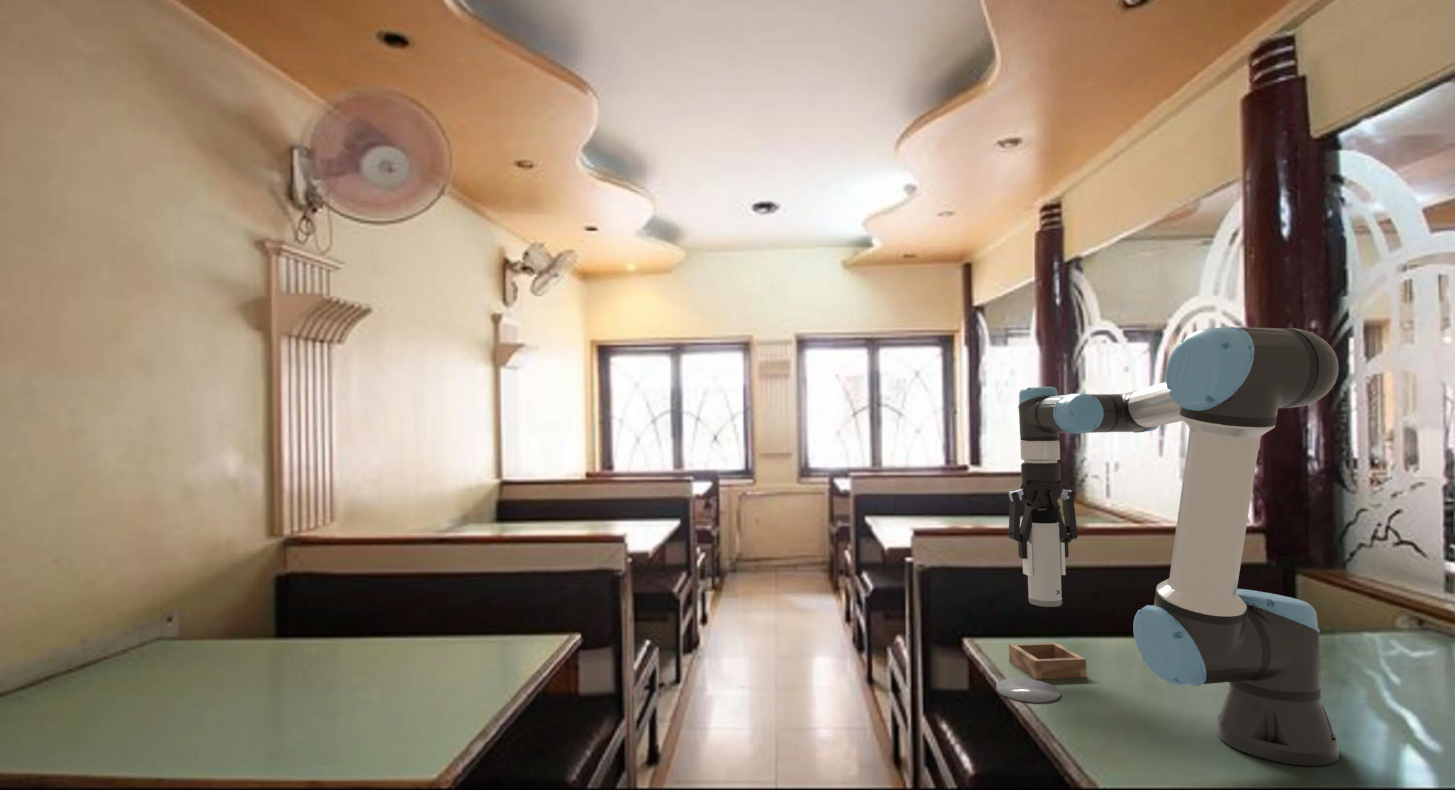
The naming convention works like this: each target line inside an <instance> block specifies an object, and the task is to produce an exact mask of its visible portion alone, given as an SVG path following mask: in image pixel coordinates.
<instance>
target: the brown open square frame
mask: <svg viewBox="0 0 1455 790" xmlns="http://www.w3.org/2000/svg"><path fill="white" fill-rule="evenodd" d="M1008 654H1009V655H1008V656H1009V658H1008V661H1009V662H1010V663H1012V665H1015V666H1016V667H1017V668H1019V669H1020V670H1021V671H1023V672H1025V673H1026V674H1027V675H1029V676H1030V677H1032V678H1033V679H1034V680H1051V679H1052V680H1053V679H1076V678H1077V679H1078V678H1079V679H1081V678H1088V677H1087V675H1088V673H1087V659H1086V657H1085V658H1084V657H1082V656H1081V655H1079V654H1077V653H1076V652H1073V651H1072V650H1070V649H1068V648H1067V647H1065V646H1063V645H1061V644H1060V643H1058V642H1035V643H1034V642H1033V643H1008Z"/></svg>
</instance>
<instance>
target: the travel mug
mask: <svg viewBox="0 0 1455 790" xmlns="http://www.w3.org/2000/svg"><path fill="white" fill-rule="evenodd" d="M1059 507H1060V505H1059ZM1060 508H1061V507H1060ZM1032 518H1033V519H1032V529H1031V532H1030V536H1029V540H1028V543H1031V544H1032V562H1033V576H1028V575H1027V588H1028V589H1027V590H1028V602H1029V604H1031V605H1034V606H1036V607H1037V606H1038V607H1044V608H1050V607H1051V608H1053V607H1059V606H1062V605H1063V596H1062V592H1063V591H1062V575H1061V565H1060V538H1059V526H1058V525H1059V519H1058V508H1055V509H1046V507H1045V506H1043V507H1039V508H1038V511H1032Z"/></svg>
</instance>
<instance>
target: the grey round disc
mask: <svg viewBox="0 0 1455 790" xmlns="http://www.w3.org/2000/svg"><path fill="white" fill-rule="evenodd" d="M995 687H996V691H997V693H999V694H1000V695H1001V696H1003V697H1006V698H1008V699H1010V700H1011V699H1012V700H1014V701H1018V702H1024V703H1036V704H1037V703H1039V704H1040V703H1041V704H1042V703H1051V702H1054V701H1057V700H1059V698H1060V694H1061V692H1060V690H1059V688H1057V687H1056V686H1054V685H1052V684H1050V683H1047V682H1044V681H1041V680H1038V679H1029V678H1006V679H1002V680H999V681H997V683H996V686H995Z"/></svg>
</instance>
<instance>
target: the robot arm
mask: <svg viewBox="0 0 1455 790" xmlns="http://www.w3.org/2000/svg"><path fill="white" fill-rule="evenodd" d="M1339 371H1340V369H1339V360H1338V357H1337V354H1336V351H1335V350H1334V349H1333V348H1332V346H1331V345H1330V344H1329V342H1327V341H1326V340H1325V339H1324V338H1322V337H1320V336H1318V335H1317V334H1315V333H1313V332H1311V331H1308V330H1304V329H1301V328H1296V327H1295V328H1291V327H1277V328H1276V327H1240V326H1239V327H1238V326H1237V327H1236V326H1220V327H1210V328H1209V327H1208V328H1203V329H1202V328H1201V329H1198V330H1196V331H1194V332H1192V333H1190V334H1189V335H1187V336H1186V337H1185V338H1184V339H1183V340H1181V341H1180V342H1178V344H1177V345H1176V346H1175V348H1174V349H1173V350H1172V352H1171V353H1170V356H1169V359H1168V362H1167V364H1166V369H1165V378H1164V379H1165V381H1164V382H1161V383H1158V384H1157V383H1156V384H1154V385H1151V386H1147V387H1143V388H1140V389H1137V390H1133V391H1130V392H1126V393H1116V394H1115V393H1114V394H1113V393H1111V394H1106V393H1105V394H1104V393H1103V394H1102V393H1101V394H1099V393H1098V394H1097V393H1094V394H1093V393H1091V394H1089V393H1082V392H1081V393H1080V392H1078V393H1074V392H1073V393H1069V394H1060V395H1059V394H1058V389H1057V388H1056V387H1054V386H1033V387H1032V386H1031V387H1023V388H1022V389H1020V391H1019V394H1018V399H1019V400H1018V405H1017V406H1018V407H1017V408H1018V418H1019V421H1018V422H1019V438H1020V439H1019V440H1020V441H1019V443H1020V444H1019V445H1020V459H1021V460H1022V461H1023V462H1022V463H1021V464H1020V473H1021V474H1020V475H1021V486H1020V488H1019V489H1017V490H1014V491H1013V490H1009V491H1008V492H1007V496H1008V501H1009V514H1008V516H1009V517H1008V538H1009V539H1011V540H1013V541H1016V542H1017V545H1018V549H1017V550H1018V557H1019V559H1022V574H1023V575H1026V576H1027V577H1028V576H1033V562H1032V544H1031V543H1028V540H1029V536H1030V532H1031V529H1032V519H1033V518H1032V511H1038V508H1039V507H1043V506H1045V507H1046V509H1055V508H1058V519H1059V525H1058V526H1059V538H1060V565H1061V576H1066V575H1067V573H1066V572H1067V571H1066V559H1067V558H1069V554H1070V553H1069V544H1070V543H1071V542H1072V540H1076V539H1077V538H1078V536H1079V535H1078V526H1077V520H1076V519H1077V517H1076V509H1075V501H1076V500H1075V499H1076V495H1077V493H1076V491H1075V490H1071V489H1065V488H1063V486H1062V485H1061V479H1062V477H1061V476H1062V475H1061V474H1062V473H1061V470H1062V469H1061V464H1060V463H1059V462H1058V461H1060V460H1061V447H1060V446H1061V445H1060V434H1073V435H1076V434H1089V433H1090V434H1091V433H1092V434H1093V433H1095V434H1096V433H1139V434H1140V433H1145V432H1153V431H1155V430H1157V429H1158V428H1159V426H1163V425H1168V424H1170V425H1171V424H1174V423H1179V422H1184V423H1185V425H1187V427H1188V428H1189V431H1188V439H1187V447H1186V455H1185V461H1184V469H1183V474H1182V475H1183V476H1182V484H1181V492H1180V497H1179V506H1178V513H1177V520H1176V527H1175V535H1174V542H1173V551H1172V557H1171V563H1170V572H1169V578H1167V579H1165V580H1163V581H1160V582H1159V583H1158V584H1157V585H1156V588H1155V596H1154V604H1153V605H1149V604H1146V605H1145V606H1144V607H1141V609H1139V610H1138V611H1137V612H1136V613H1135V616H1134V619H1133V626H1132V627H1133V629H1132V630H1133V637H1134V642H1135V645H1136V647H1137V650H1138V652H1139V653H1140V655H1141V657H1142V660H1143V661H1144V663H1145V664H1146V666H1147V667H1148V668H1149V669H1150V671H1152V672H1153V674H1155V675H1156V677H1158V678H1159V679H1161V680H1162V681H1164V682H1166V683H1168V684H1171V685H1174V686H1192V687H1201V686H1203V685H1209V684H1222V683H1228V687H1227V691H1226V693H1225V697H1224V700H1223V703H1222V707H1221V711H1220V713H1219V715H1218V717H1217V719H1216V720H1217V721H1216V724H1217V725H1216V726H1217V727H1216V728H1217V729H1216V731H1217V737H1219V738H1220V740H1221V741H1222V742H1223V743H1225V744H1226V745H1228V746H1229V747H1232V748H1233V749H1236V750H1237V751H1240V752H1243V753H1245V754H1248V755H1250V756H1254V757H1256V758H1260V759H1263V760H1267V761H1272V762H1277V763H1282V764H1287V765H1294V766H1304V767H1307V766H1308V767H1309V766H1310V767H1316V766H1317V767H1321V766H1327V765H1331V764H1335V763H1336V762H1337V761H1338V760H1339V757H1340V756H1339V754H1340V753H1339V743H1338V742H1339V741H1338V738H1337V736H1336V735H1335V734H1334V730H1333V728H1332V725H1331V724H1332V723H1331V721H1330V719H1329V717H1328V714H1327V712H1326V710H1325V708H1324V707H1325V706H1324V705H1323V702H1322V689H1321V688H1322V687H1321V686H1322V685H1321V661H1320V660H1321V654H1320V652H1321V651H1320V631H1321V629H1320V628H1319V626H1318V625H1319V624H1318V616H1317V615H1318V614H1317V611H1316V609H1315V607H1313V606H1312V605H1311V604H1310V603H1308V602H1307V601H1304V600H1301V599H1297V598H1294V597H1290V596H1285V595H1280V594H1275V593H1271V592H1263V591H1258V590H1253V589H1245V588H1244V589H1243V588H1238V585H1239V579H1240V578H1239V576H1240V572H1241V571H1240V570H1241V565H1242V558H1243V552H1244V547H1245V546H1244V545H1245V539H1246V532H1247V525H1248V519H1249V513H1250V506H1251V505H1250V504H1251V498H1252V493H1253V488H1254V487H1253V486H1254V481H1255V474H1256V467H1257V461H1258V454H1259V453H1258V452H1259V449H1260V440H1261V438H1262V436H1263V435H1265V434H1266V433H1268V432H1270V431H1271V430H1273V429H1275V428H1276V425H1277V416H1278V413H1279V411H1278V410H1279V409H1291V408H1299V407H1305V406H1308V405H1311V404H1314V403H1316V402H1317V401H1319V400H1321V399H1322V398H1324V397H1325V396H1327V394H1328V393H1330V391H1331V390H1332V389H1333V387H1334V385H1336V382H1337V379H1338V376H1339ZM1022 496H1023V498H1024V499H1025V500H1026V501H1025V504H1024V512H1023V515H1022V520H1021V513H1022V511H1021V510H1022V509H1021V508H1022V503H1021V501H1022V500H1023V498H1022ZM1059 498H1061V500H1062V501H1061V502H1062V504H1061V505H1062V511H1063V517H1062V514H1061V511H1060V510H1061V507H1059V506H1060V505H1059V502H1058V499H1059Z"/></svg>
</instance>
